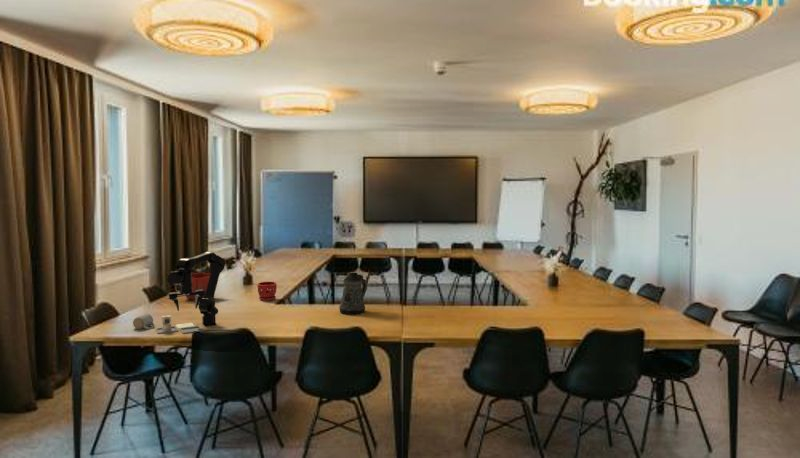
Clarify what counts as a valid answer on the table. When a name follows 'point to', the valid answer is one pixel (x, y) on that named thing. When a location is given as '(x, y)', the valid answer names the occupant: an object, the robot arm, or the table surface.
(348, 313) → the beer stein
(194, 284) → the plant pot
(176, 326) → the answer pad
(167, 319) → the tan rectangular block
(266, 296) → the plant pot
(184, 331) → the tray
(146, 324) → the ceramic mug
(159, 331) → the tray
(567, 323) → the table surface
